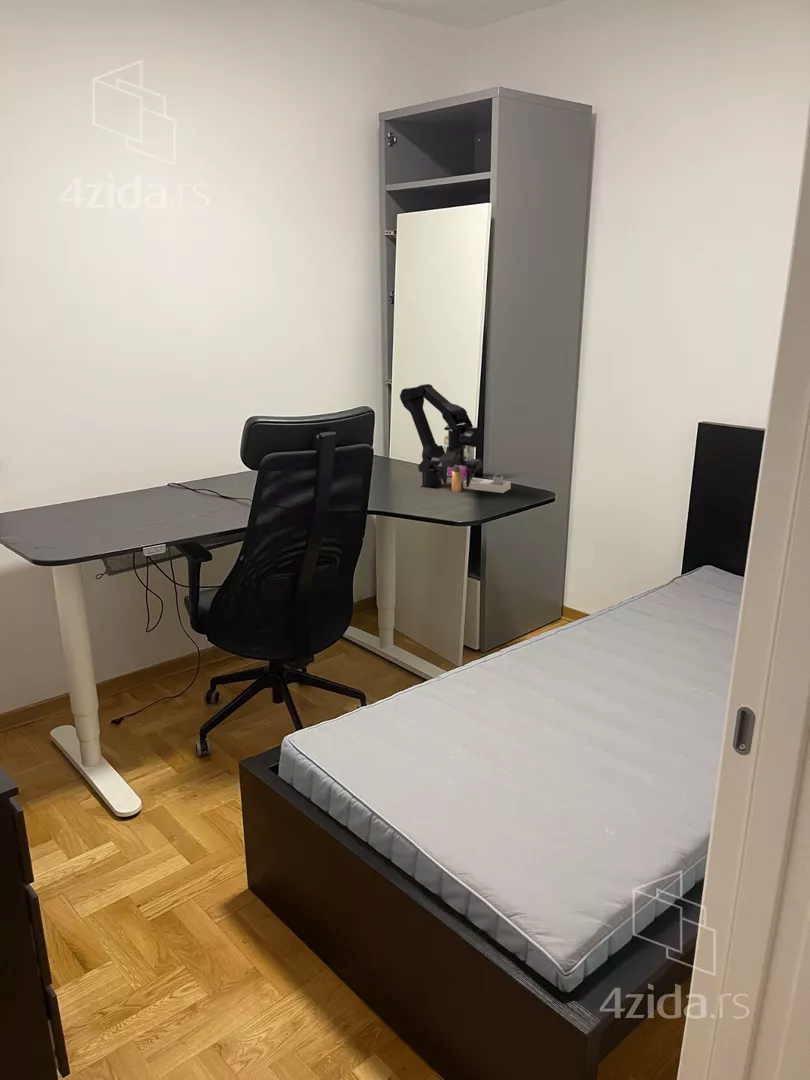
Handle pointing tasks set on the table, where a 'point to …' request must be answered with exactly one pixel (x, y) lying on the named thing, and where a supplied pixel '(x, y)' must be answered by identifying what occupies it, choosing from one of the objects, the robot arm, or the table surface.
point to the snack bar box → (469, 455)
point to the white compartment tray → (487, 485)
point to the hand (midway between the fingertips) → (456, 485)
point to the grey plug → (498, 479)
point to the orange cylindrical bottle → (456, 479)
